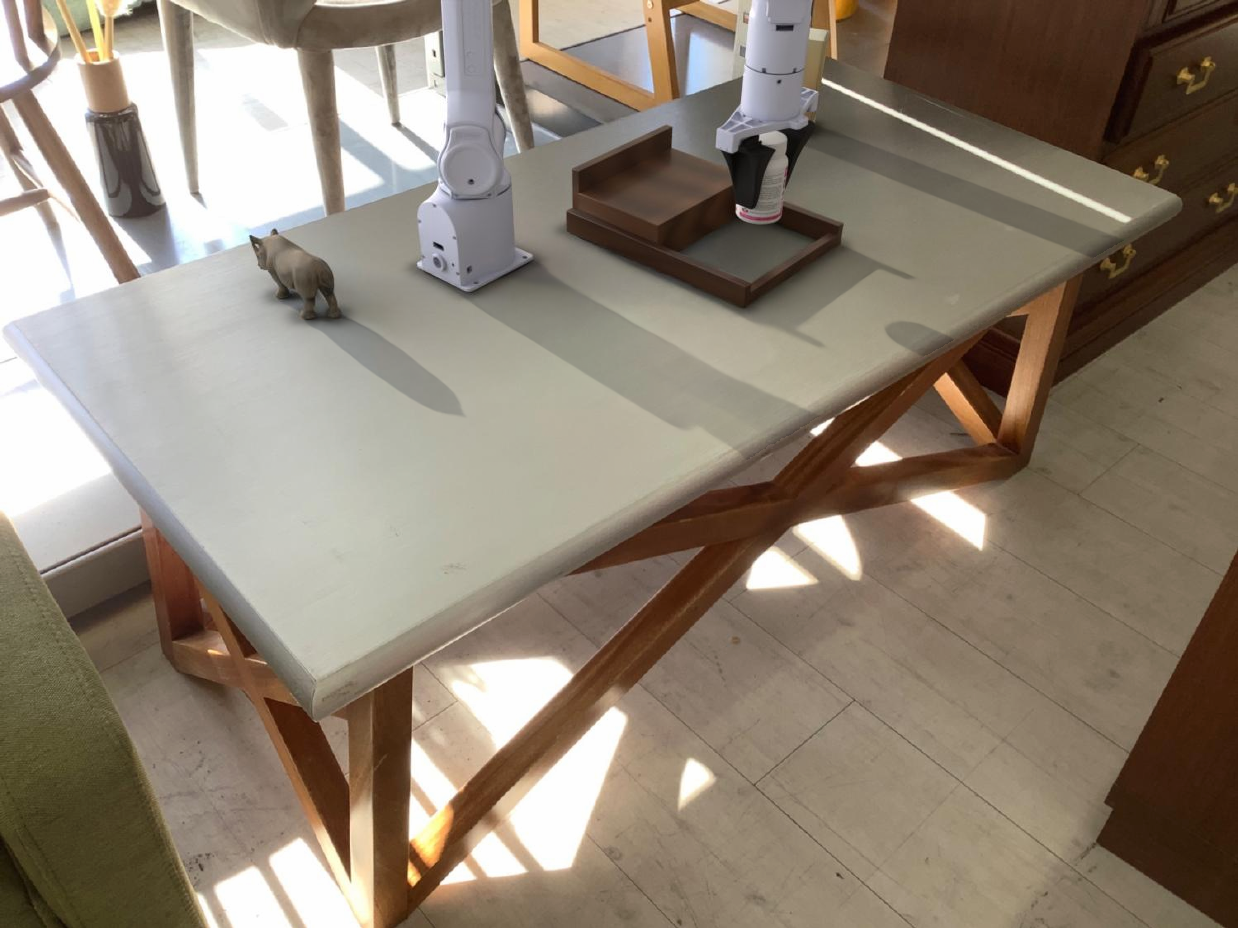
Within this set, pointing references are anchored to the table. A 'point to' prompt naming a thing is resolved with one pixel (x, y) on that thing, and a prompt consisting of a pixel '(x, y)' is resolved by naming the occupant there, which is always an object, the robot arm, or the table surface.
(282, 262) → the rhino figurine
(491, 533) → the table surface
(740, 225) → the table surface
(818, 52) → the cosmetic box
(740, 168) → the robot arm
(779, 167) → the pill bottle
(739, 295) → the step rack
